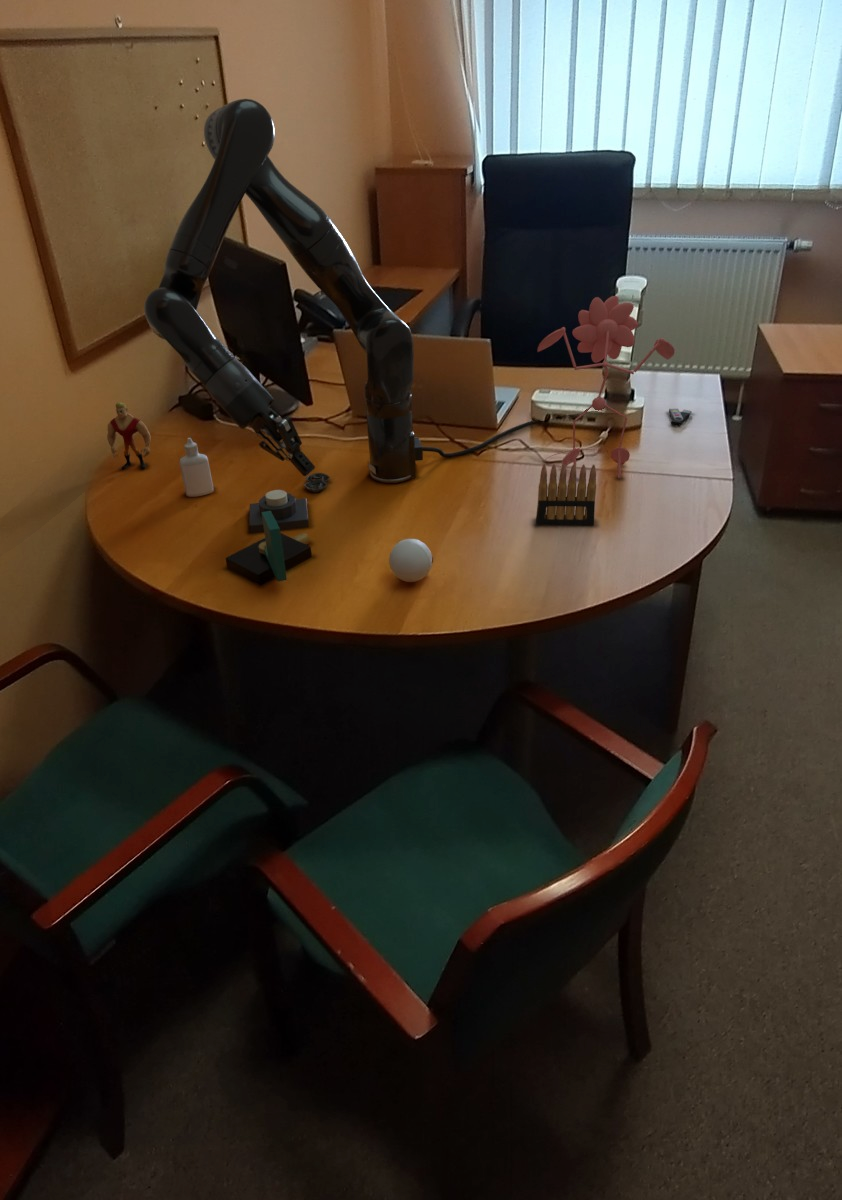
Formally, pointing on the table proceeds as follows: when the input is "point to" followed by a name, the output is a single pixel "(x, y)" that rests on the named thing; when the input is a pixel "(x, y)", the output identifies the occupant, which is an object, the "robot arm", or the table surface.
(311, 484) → the corroded twin loop
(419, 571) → the white sphere
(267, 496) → the button
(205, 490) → the eye dropper bottle
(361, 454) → the table surface
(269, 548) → the valve lever
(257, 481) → the table surface
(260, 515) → the button housing
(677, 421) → the usb flash drive
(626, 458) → the flower sculpture
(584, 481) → the ammunition clip
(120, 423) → the action figure
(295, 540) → the valve block
